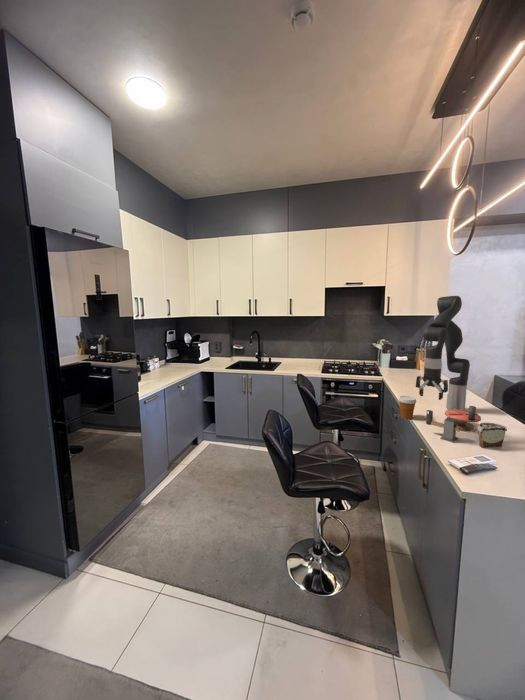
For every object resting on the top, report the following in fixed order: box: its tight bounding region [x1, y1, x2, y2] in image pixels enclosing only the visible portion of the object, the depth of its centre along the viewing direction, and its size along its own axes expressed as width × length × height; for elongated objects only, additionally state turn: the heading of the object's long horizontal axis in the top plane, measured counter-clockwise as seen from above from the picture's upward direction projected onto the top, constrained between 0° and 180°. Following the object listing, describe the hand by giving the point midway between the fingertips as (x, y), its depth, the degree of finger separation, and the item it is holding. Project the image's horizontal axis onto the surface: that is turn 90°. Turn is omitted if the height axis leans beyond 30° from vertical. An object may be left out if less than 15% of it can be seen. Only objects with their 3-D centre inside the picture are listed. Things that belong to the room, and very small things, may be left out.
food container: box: [477, 422, 508, 449], centre depth 136 cm, size 12×6×10 cm, turn 92°
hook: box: [425, 409, 461, 433], centre depth 144 cm, size 15×3×7 cm, turn 42°
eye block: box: [440, 416, 459, 443], centre depth 142 cm, size 6×6×10 cm
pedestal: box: [456, 420, 475, 432], centre depth 156 cm, size 11×11×2 cm
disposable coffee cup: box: [398, 395, 417, 420], centre depth 171 cm, size 10×10×12 cm
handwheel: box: [444, 405, 482, 425], centre depth 155 cm, size 16×16×12 cm
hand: (430, 397), depth 147 cm, fingers open, 8 cm apart
